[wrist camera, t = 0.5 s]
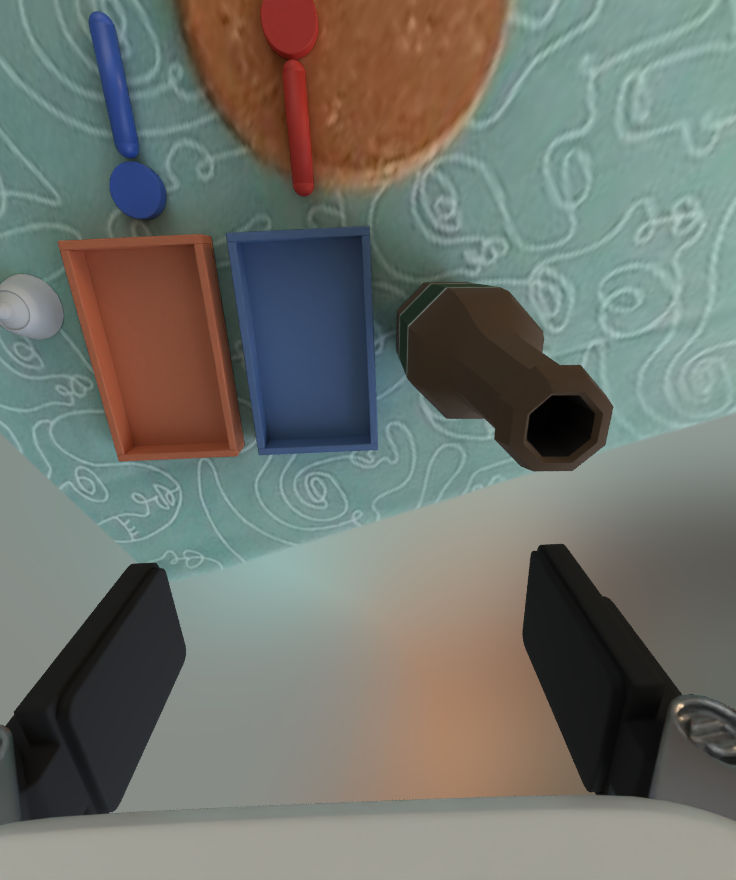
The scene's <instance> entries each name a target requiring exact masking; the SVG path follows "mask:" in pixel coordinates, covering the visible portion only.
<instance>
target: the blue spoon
mask: <svg viewBox="0 0 736 880" xmlns="http://www.w3.org/2000/svg"><path fill="white" fill-rule="evenodd" d="M89 28H90V33H91V37H92V42H93V46H94V51H95V55H96V60H97V65H98V69H99V74H100V78H101V83H102V87H103V92H104V97H105V101H106V106H107V110H108V115H109V119H110V124H111V129H112V133H113V138H114V142H115V146H116V149H117V150H118V152H119V153H120V154H121V155H123V156H124V157H127V158H134V157H136V156H137V155H138V153H139V143H138V138H137V133H136V128H135V123H134V118H133V113H132V109H131V104H130V99H129V94H128V89H127V84H126V79H125V74H124V69H123V64H122V59H121V54H120V49H119V44H118V39H117V34H116V29H115V26H114V24H113V22H112V20H111V19H110V18H109V17H108V16H107V15H106V14H104V13H102V12H99V11H96V12H93V13H92V14H91V15H90V17H89ZM110 192H111V196H112V198H113V200H114V202H115V204H116V205H117V207H118V208H119V209H120V210H121V211H122V212H123V213H125V214H126V215H128V216H130V217H133V218H136V219H141V220H151V219H154V218H156V217H157V216H159V215H160V214H161V212H162V211H163V209H164V207H165V204H166V190H165V187H164V184H163V182H162V180H161V179H160V177H159V176H158V175H157V174H156V173H155V172H154V171H153V170H152V169H150V168H149V167H147V166H144V165H142V164H140V163H137V162H131V161H129V162H124V163H121V164H120V165H118V166H117V167H116V168H115V169H114V171H113V172H112V174H111V177H110Z"/></svg>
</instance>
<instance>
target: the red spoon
mask: <svg viewBox="0 0 736 880" xmlns="http://www.w3.org/2000/svg"><path fill="white" fill-rule="evenodd" d="M261 25H262V29H263V32H264V34H265V37H266V39H267V41H268V43H269V45H270V47H271V48H272V49H273V50H274V51H275V52H276V53H277V54H278V55H279V56H281V57H283V58H285V59H289V61H287V62H286V63H285V65H284V67H283V84H284V95H285V106H286V116H287V127H288V138H289V148H290V159H291V169H292V180H293V188H294V190H295V192H296V193H297V194H298V195H300V196H303V197H306V196H309V195H310V194H311V193H312V191H313V189H314V178H313V166H312V153H311V140H310V127H309V115H308V102H307V89H306V76H305V70H304V68H303V66H302V64H301V63H300V62H299V61H297V59H300V58H302V57H304V56H306V55H307V54H308V53H309V52H310V51H311V50H312V48H313V47H314V45H315V43H316V40H317V36H318V18H317V12H316V8H315V5H314V2H313V0H263V2H262V6H261Z"/></svg>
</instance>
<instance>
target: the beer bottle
mask: <svg viewBox="0 0 736 880" xmlns="http://www.w3.org/2000/svg"><path fill="white" fill-rule="evenodd" d="M543 343H544V336H543V331H542V330H541V328H540V327H539V326H538V325H537V324H536V322H535V321H534V320H533V319H532V318H531V317H530V315H529V314H528V313H527V312H526V311H525V309H524V308H523V307H522V306H521V305H520V304H519V302H518V301H517V300H516V299H515V298H514V296H513V295H512V294H511V293H510V292H509V291H507V290H505V289H503V288H501V287H494V286H488V285H481V284H475V283H468V282H426V283H423V284H422V285H421V286H420V287H419V288H418V289H417V290H416V291H415V292H414V293H413V294H412V295H411V296H410V297H409V298H408V299H407V301H406V302H405V303H404V304H403V305H402V306H401V307H400V308H399V309H398V310H397V333H396V350H397V354H398V356H399V359H400V361H401V364H402V366H403V369H404V371H405V374H406V376H407V378H408V380H409V381H410V382H411V383H412V385H413V386H414V387H415V388H416V389H417V390H418V391H419V392H420V393H421V394H422V395H423V396H424V397H425V398H426V399H427V400H428V401H429V402H430V403H431V404H432V405H433V406H434V407H435V408H436V409H437V410H438V411H439V412H440V413H441V414H442V415H443V416H444V417H445V418H448V419H485V420H487V421H488V422H489V423H490V424H491V425H492V426H493V427H494V428H495V437H494V439H495V440H496V441H497V442H498V443H499V444H500V445H501V446H502V447H503V448H504V449H505V450H506V451H507V453H508V454H509V455H510V456H511V457H512V458H513V459H514V460H515V461H516V462H517V463H518V464H519V465H520V466H521V467H524V468H526V469H529V470H532V471H573V470H574V469H575V468H577V467H578V466H579V465H581V463H583V462H584V461H586V460H587V459H588V458H589V457H591V456H592V455H593V454H595V453H596V452H597V451H598V450H600V449H601V448H602V447H603V446H605V444H606V439H607V434H608V430H609V425H610V420H611V415H612V411H613V406H612V404H611V402H610V401H609V399H608V398H607V396H606V395H605V394H604V392H603V391H602V390H601V389H600V388H599V386H598V385H597V384H596V383H595V382H594V380H593V379H592V378H591V377H590V376H589V374H588V373H587V372H586V371H585V370H584V369H583V367H582V366H581V365H559V364H558V363H556V362H555V361H553V360H552V359H550V358H549V357H547V356H546V355H545V354H543V353H542V350H543Z"/></svg>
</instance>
